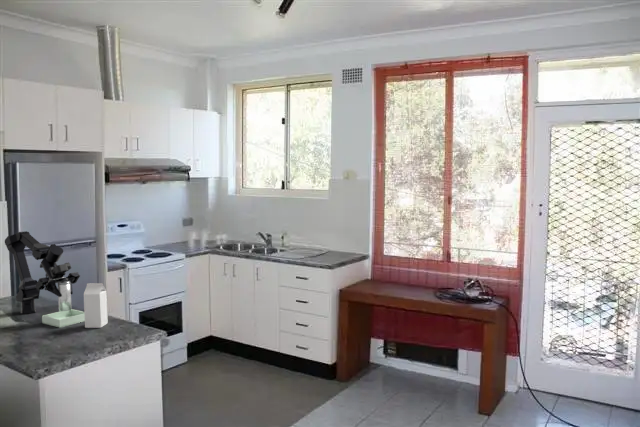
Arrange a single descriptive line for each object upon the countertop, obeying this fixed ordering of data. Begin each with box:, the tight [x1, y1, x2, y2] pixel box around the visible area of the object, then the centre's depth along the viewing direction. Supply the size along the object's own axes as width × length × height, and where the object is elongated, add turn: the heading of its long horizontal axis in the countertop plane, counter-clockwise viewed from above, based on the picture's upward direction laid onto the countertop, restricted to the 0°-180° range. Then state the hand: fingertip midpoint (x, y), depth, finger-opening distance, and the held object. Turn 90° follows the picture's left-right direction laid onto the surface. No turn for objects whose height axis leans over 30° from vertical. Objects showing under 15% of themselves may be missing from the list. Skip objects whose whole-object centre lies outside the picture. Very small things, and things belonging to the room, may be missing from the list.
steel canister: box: [57, 281, 72, 312], centre depth 244 cm, size 5×5×13 cm
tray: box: [41, 308, 85, 329], centre depth 245 cm, size 14×14×4 cm
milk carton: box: [83, 282, 109, 329], centre depth 237 cm, size 7×7×19 cm
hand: (66, 295), depth 243 cm, fingers closed on steel canister, 5 cm apart
